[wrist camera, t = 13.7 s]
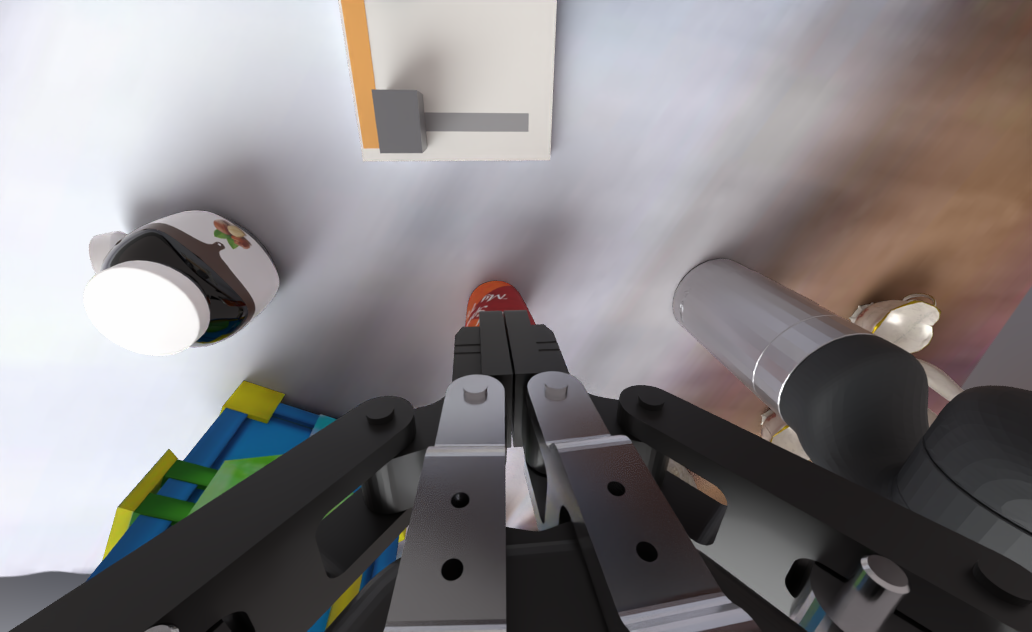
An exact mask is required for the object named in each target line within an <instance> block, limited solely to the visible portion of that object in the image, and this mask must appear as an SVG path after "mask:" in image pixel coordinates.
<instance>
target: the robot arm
mask: <svg viewBox="0 0 1032 632" xmlns="http://www.w3.org/2000/svg"><path fill="white" fill-rule="evenodd" d="M673 312H674V315H675V318H676V320H677V321H678V322H679V324H680V325H681V326H682V327H683V328H685V329H686V330H687V331H688V332H689V333H690V334H691V335H692V336H693V337H694V338H695V339H696V340H697V341H698V342H699V343H700V344H701V345H703V346H704V347H705V348H706V349H707V350H708V351H709V352H710V353H711V354H712V355H713V356H714V357H715V358H716V359H718V360H719V361H720V362H721V363H722V364H723V365H724V366H725V367H726V368H727V369H728V370H729V371H730V372H732V373H733V374H734V375H735V376H736V377H737V378H738V379H739V380H740V381H741V382H742V383H743V384H744V385H745V386H747V387H748V388H749V389H750V390H751V391H752V392H753V393H754V394H755V395H756V396H757V397H758V398H759V399H761V400H762V401H763V402H764V403H765V404H766V405H767V406H768V407H769V408H770V409H771V410H772V411H774V412H775V413H776V414H777V415H778V416H779V417H780V418H781V419H782V420H783V421H784V422H785V423H786V424H787V425H788V426H789V427H790V428H791V429H792V430H793V431H794V432H795V433H796V434H797V436H798V439H799V442H800V444H801V446H802V448H803V450H804V451H805V453H806V454H807V456H808V457H809V458H810V459H811V461H812V462H813V463H812V462H810V461H808V460H806V459H804V458H802V457H800V456H798V455H796V454H794V453H792V452H790V451H788V450H786V449H784V448H781V447H779V446H777V445H775V444H773V443H771V442H769V441H767V440H765V439H763V438H761V437H759V436H757V435H755V434H753V433H751V432H749V431H746V430H744V429H742V428H740V427H738V426H736V425H734V424H732V423H730V422H728V421H726V420H724V419H722V418H720V417H718V416H716V415H713V414H711V413H709V412H707V411H705V410H703V409H701V408H699V407H697V406H695V405H693V404H691V403H689V402H687V401H685V400H683V399H681V398H678V397H676V396H674V395H672V394H670V393H668V392H666V391H664V390H662V389H659V388H656V387H652V386H646V385H636V386H631V387H628V388H626V389H624V390H623V391H622V392H621V394H620V397H619V400H615V399H609V398H603V397H598V396H594V395H591V394H589V393H587V391H586V389H585V388H584V386H583V384H582V383H581V382H580V381H579V380H578V379H577V378H576V377H574V376H572V375H570V374H569V372H568V369H567V366H566V364H565V361H564V359H563V356H562V354H561V351H560V349H559V346H558V343H557V341H556V338H555V336H554V333H553V332H552V331H551V330H550V329H549V328H547V327H546V326H545V325H544V324H540V325H531V323H530V319H529V316H528V313H527V310H504V311H503V313H502V311H479V326H476V327H462V328H461V329H460V331H459V332H458V333H457V334H456V335H455V348H454V363H453V377H452V383H451V384H450V385H449V386H448V388H447V390H446V394H445V397H444V398H442V399H441V400H439V401H438V402H436V403H433V404H431V405H428V406H425V407H421V408H417V409H413V407H412V405H411V404H410V403H409V402H408V401H407V400H405V399H403V398H400V397H394V396H384V397H378V398H374V399H371V400H368V401H366V402H364V403H362V404H360V405H359V406H357V407H356V408H354V409H352V410H351V411H349V412H348V413H346V414H345V415H343V416H342V417H340V418H339V419H337V420H335V421H334V422H332V423H331V424H329V425H328V426H326V427H325V428H323V429H321V430H320V431H318V432H317V433H315V434H314V435H312V436H311V437H309V438H308V439H306V440H304V441H303V442H301V443H300V444H298V445H297V446H295V447H294V448H292V449H291V450H289V451H287V452H286V453H284V454H283V455H281V456H280V457H278V458H277V459H275V460H273V461H272V462H270V463H269V464H267V465H266V466H264V467H263V468H261V469H260V470H258V471H256V472H255V473H253V474H252V475H250V476H249V477H247V478H246V479H244V480H243V481H241V482H239V483H238V484H236V485H235V486H233V487H232V488H230V489H229V490H227V491H226V492H224V493H222V494H221V495H219V496H218V497H216V498H215V499H213V500H212V501H210V502H208V503H207V504H205V505H204V506H202V507H201V508H199V509H198V510H196V511H195V512H193V513H191V514H190V515H188V516H187V517H185V518H184V519H182V520H181V521H179V522H178V523H176V524H174V525H173V526H171V527H170V528H168V529H167V530H165V531H164V532H162V533H160V534H159V535H157V536H156V537H154V538H153V539H151V540H150V541H148V542H147V543H145V544H143V545H142V546H140V547H139V548H137V549H136V550H134V551H133V552H131V553H130V554H128V555H126V556H125V557H123V558H122V559H120V560H119V561H117V562H116V563H114V564H113V565H111V566H109V567H108V568H106V569H105V570H103V571H102V572H100V573H99V574H97V575H95V576H94V577H92V578H91V579H89V580H88V581H86V582H85V583H83V584H82V585H80V586H79V587H77V588H75V589H74V590H72V591H71V592H69V593H68V594H66V595H65V596H63V597H61V598H60V599H59V600H57V601H55V602H54V603H52V604H51V605H49V606H48V607H46V608H44V609H43V610H41V611H40V612H38V613H37V614H35V615H34V616H32V617H30V618H29V619H27V620H26V621H24V622H23V623H21V624H20V625H18V626H17V627H15V628H13V629H12V630H10V631H9V632H307V631H308V630H309V629H310V628H311V627H312V626H313V625H314V624H315V623H316V621H317V620H318V619H319V618H320V617H321V616H322V615H323V614H324V613H325V612H326V611H327V610H328V609H329V608H330V607H331V606H332V605H333V604H334V603H335V602H336V601H337V600H338V599H339V597H340V596H341V595H342V594H343V593H344V592H345V591H346V590H347V589H348V588H349V587H350V586H351V585H352V584H353V583H354V582H355V581H356V580H357V579H358V578H359V577H360V576H361V575H362V573H363V572H364V571H365V570H366V569H367V568H368V567H369V566H370V565H371V564H372V563H373V562H374V561H375V560H376V559H377V558H378V557H379V556H380V555H381V554H382V553H383V552H384V551H385V549H386V548H387V547H388V546H389V545H390V544H391V543H392V542H393V541H394V540H395V539H396V538H397V537H398V536H399V535H400V534H401V533H402V532H403V531H404V530H405V529H406V528H407V527H408V525H409V527H408V531H407V535H406V539H405V544H404V548H403V552H402V557H401V558H399V559H397V560H396V561H394V562H392V563H391V564H389V565H388V566H387V567H385V568H384V569H383V570H382V571H380V572H379V573H378V574H377V575H376V576H375V577H373V578H372V579H371V580H370V581H369V582H368V583H367V584H366V585H365V586H364V587H363V588H362V589H361V590H360V591H359V593H358V594H357V595H356V596H355V597H354V598H353V599H352V601H351V602H350V603H349V604H348V605H347V606H346V607H345V608H344V610H343V611H342V612H341V613H340V614H339V615H338V616H337V618H336V619H335V620H334V621H333V622H332V623H331V624H330V625H329V627H328V628H327V629H326V630H325V631H324V632H1032V391H1028V390H1024V389H1019V388H1014V387H1006V386H979V387H974V388H970V389H967V390H965V391H963V392H961V393H959V394H958V395H956V396H955V397H954V398H953V399H952V400H951V401H950V402H949V403H948V404H947V405H946V406H945V407H944V408H943V410H942V411H941V412H940V413H939V415H938V416H937V417H936V419H935V420H934V422H933V423H932V424H931V426H930V427H929V423H928V379H927V375H926V372H925V370H924V368H923V366H922V365H921V363H920V362H919V361H918V360H917V359H916V358H915V357H914V356H913V355H912V354H910V353H909V352H907V351H906V350H904V349H902V348H901V347H899V346H897V345H895V344H893V343H891V342H889V341H887V340H885V339H883V338H881V337H879V336H877V335H875V334H873V333H872V332H870V331H868V330H866V329H864V328H862V327H860V326H858V325H856V324H854V323H852V322H850V321H848V320H847V319H844V318H842V317H840V316H838V315H837V314H835V313H833V312H831V311H829V310H827V309H825V308H823V307H821V306H819V304H817V303H816V302H814V301H812V300H810V299H808V298H806V297H804V296H802V295H800V294H798V293H797V292H795V291H793V290H791V289H789V288H787V287H785V286H783V285H781V284H779V283H777V282H775V281H773V280H771V279H770V278H768V277H766V276H764V275H762V274H760V273H758V272H756V271H754V270H750V269H748V268H747V267H745V266H743V265H741V264H739V263H737V262H735V261H733V260H728V259H715V260H710V261H707V262H705V263H703V264H700V265H699V266H697V267H696V268H694V269H693V270H691V271H690V272H689V273H688V274H687V275H686V276H685V277H684V279H683V280H682V281H681V282H680V284H679V286H678V288H677V290H676V292H675V295H674V298H673ZM511 431H512V438H513V446H514V447H523V448H524V454H525V456H524V474H525V478H526V482H527V486H528V490H529V494H530V498H531V502H532V506H533V510H534V514H535V518H536V522H537V526H538V530H539V531H528V530H521V529H515V528H509V527H506V494H505V465H506V455H507V448H510V447H511ZM669 459H672V460H674V461H675V462H677V463H679V464H680V465H682V466H684V467H685V468H687V469H689V470H691V471H692V472H694V473H696V474H697V475H699V476H701V477H702V478H704V479H706V480H707V481H709V482H711V483H712V484H714V485H715V486H717V487H718V488H719V489H720V490H721V491H722V493H723V494H724V495H725V497H726V500H727V506H726V505H723V504H721V503H719V502H717V501H716V500H714V499H712V498H711V497H709V496H708V495H706V494H704V493H703V492H701V491H699V490H698V489H696V488H695V487H693V486H691V485H690V484H688V483H687V482H685V481H683V480H682V479H680V478H678V477H677V476H675V475H674V474H672V473H670V472H669V471H667V467H668V463H669ZM359 486H361V488H359V489H358V490H357V491H356V492H355V493H353V494H352V495H351V496H350V497H349V498H347V499H346V500H345V501H344V502H343V503H342V504H340V505H339V506H338V507H337V508H336V509H334V510H333V511H332V512H331V513H330V514H328V515H327V516H326V517H325V515H326V514H327V513H328V512H329V511H331V510H332V509H333V508H334V507H335V506H337V505H338V504H339V503H340V502H341V501H343V500H344V499H345V498H346V497H347V496H349V495H350V494H351V493H352V492H353V491H355V490H356V489H357V488H358V487H359ZM324 517H325V518H324ZM323 518H324V519H323Z"/></svg>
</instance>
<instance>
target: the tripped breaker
mask: <svg viewBox="0 0 1032 632" xmlns="http://www.w3.org/2000/svg"><path fill="white" fill-rule="evenodd" d="M371 90H372V98H373V105H374V112H375V120H376V127H377V134H378V142H379V149H380V153H423V152H424V151H425V150H426V149H428V148H427V137H426V125H425V114H424V102H423V94H422V93H420V92H419V91H417V90H377V89H371Z"/></svg>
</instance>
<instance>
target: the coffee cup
mask: <svg viewBox="0 0 1032 632" xmlns="http://www.w3.org/2000/svg"><path fill="white" fill-rule="evenodd" d="M504 310H527V313H528V316H529V319H530V323H531V325H536V324H535V322H534V320H533V318H532V316H531V314H530V312H529V310H528V308H527V306H526V304H525V302H524V300H523V299H522V297H521V295H520V294H519V292H518V291H517V290H516V289H515V288H514V287H513V286H512V285H510V284H508V283H506V282H503V281H489V282H486V283H484V284H482V285H480V286H478V287H477V288H476V289H475V290H474V291H473V293H472V294H471V296H470V298H469V301H468V306H467V314H466V323H465V327H476V326H479V311H502V313H503V311H504Z"/></svg>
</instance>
